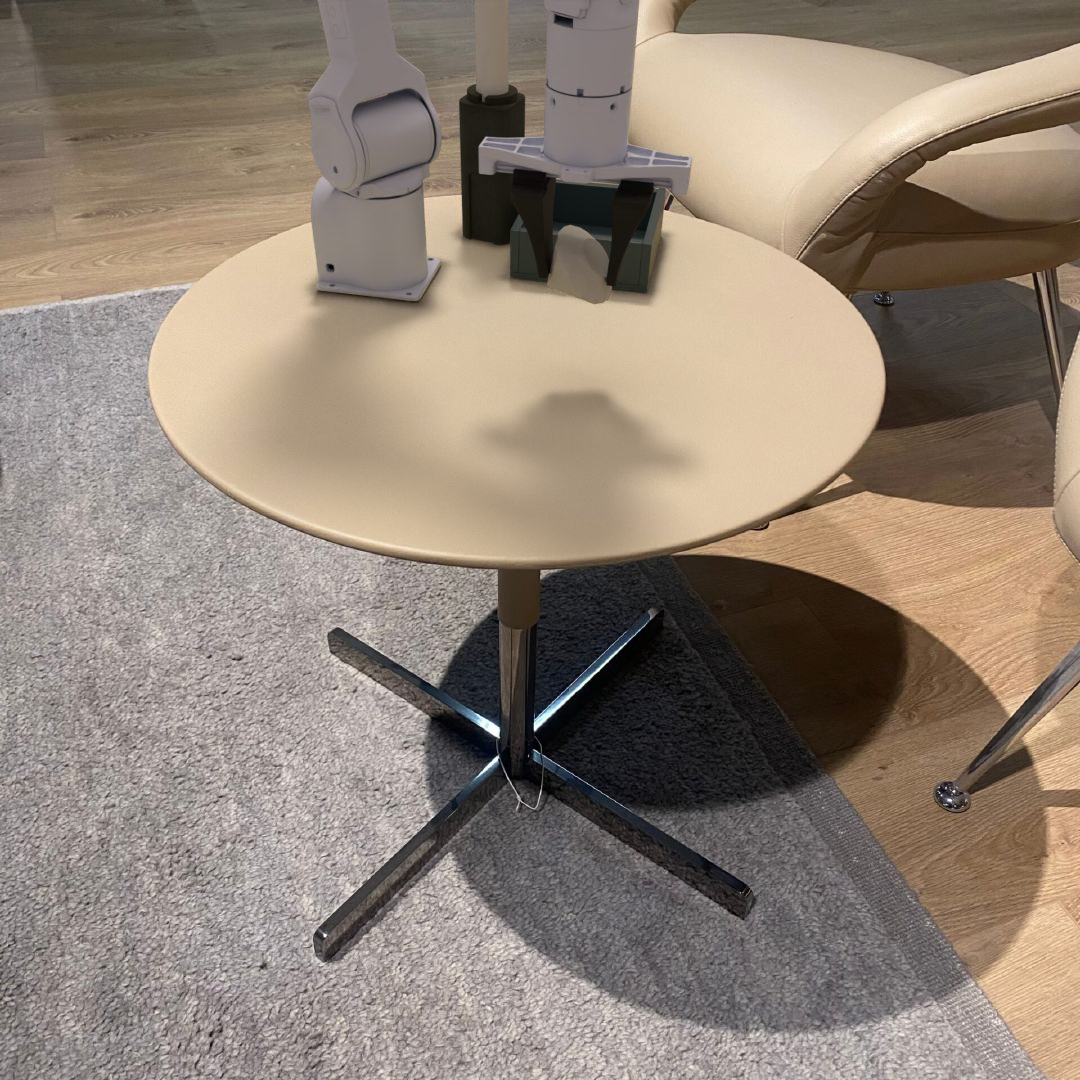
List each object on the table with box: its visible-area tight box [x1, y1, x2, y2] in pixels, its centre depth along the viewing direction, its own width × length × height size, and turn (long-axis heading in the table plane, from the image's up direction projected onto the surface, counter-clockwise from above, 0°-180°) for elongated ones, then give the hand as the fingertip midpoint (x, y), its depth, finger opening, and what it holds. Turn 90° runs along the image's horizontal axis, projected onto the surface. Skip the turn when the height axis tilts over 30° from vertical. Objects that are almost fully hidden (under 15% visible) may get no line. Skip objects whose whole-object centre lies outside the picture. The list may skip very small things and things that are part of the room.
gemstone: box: [546, 225, 613, 305], centre depth 76 cm, size 6×6×5 cm
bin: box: [509, 178, 667, 293], centre depth 96 cm, size 13×13×5 cm
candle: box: [458, 0, 526, 246], centre depth 92 cm, size 5×5×25 cm
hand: (578, 276), depth 75 cm, fingers closed on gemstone, 4 cm apart
